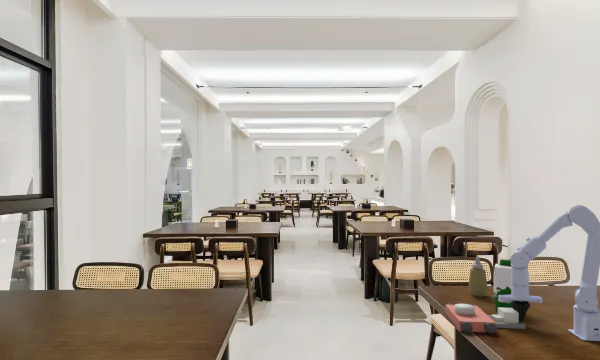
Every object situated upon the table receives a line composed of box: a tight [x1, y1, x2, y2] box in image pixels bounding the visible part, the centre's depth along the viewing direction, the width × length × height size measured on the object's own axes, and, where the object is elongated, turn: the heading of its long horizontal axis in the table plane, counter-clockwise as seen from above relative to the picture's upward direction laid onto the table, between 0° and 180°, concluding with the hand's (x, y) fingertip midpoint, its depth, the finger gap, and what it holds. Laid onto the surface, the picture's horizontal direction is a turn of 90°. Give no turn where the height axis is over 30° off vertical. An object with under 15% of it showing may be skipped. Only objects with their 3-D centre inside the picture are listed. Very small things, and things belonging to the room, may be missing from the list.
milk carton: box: [493, 258, 514, 312], centre depth 165 cm, size 9×9×20 cm
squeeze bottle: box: [468, 255, 488, 298], centre depth 188 cm, size 8×8×18 cm
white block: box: [490, 307, 520, 323], centre depth 148 cm, size 6×8×5 cm
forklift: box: [444, 303, 527, 335], centre depth 149 cm, size 23×24×6 cm
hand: (520, 321), depth 148 cm, fingers closed
